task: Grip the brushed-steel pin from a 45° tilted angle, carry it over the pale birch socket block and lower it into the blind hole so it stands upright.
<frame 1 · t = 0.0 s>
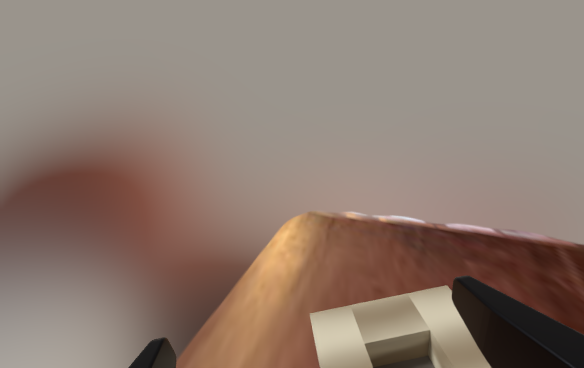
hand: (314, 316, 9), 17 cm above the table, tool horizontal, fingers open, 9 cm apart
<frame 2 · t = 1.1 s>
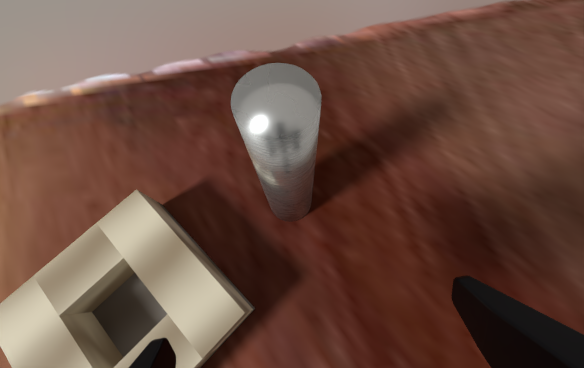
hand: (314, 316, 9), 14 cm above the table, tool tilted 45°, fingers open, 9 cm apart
socket block: (145, 310, 22), on the table
steel pin: (290, 201, 24), on the table
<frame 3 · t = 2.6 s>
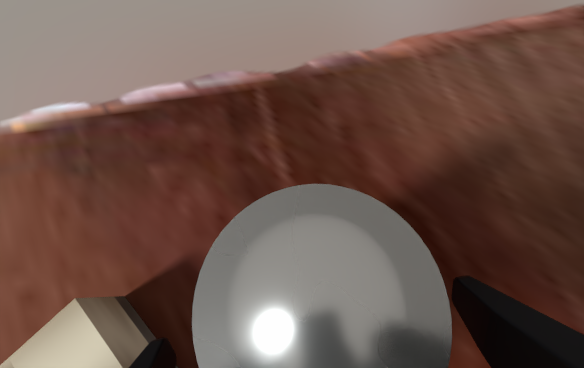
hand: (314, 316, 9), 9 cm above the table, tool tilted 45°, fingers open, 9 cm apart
steel pin: (306, 292, 17), on the table
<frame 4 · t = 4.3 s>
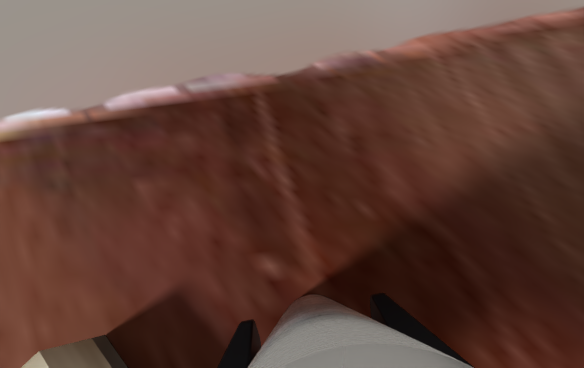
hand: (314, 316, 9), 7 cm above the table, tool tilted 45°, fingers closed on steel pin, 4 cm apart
steel pin: (314, 330, 15), on the table, touching gripper
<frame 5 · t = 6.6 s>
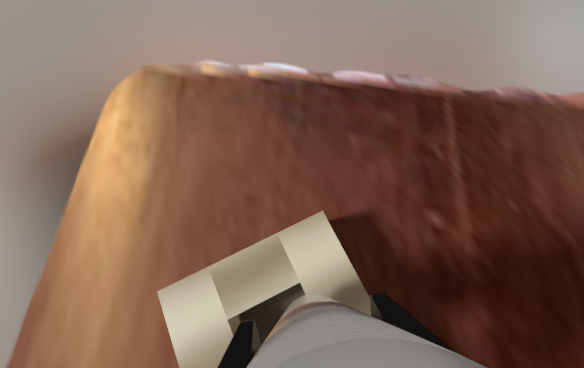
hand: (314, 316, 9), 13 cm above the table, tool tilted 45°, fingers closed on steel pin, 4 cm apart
socket block: (285, 330, 21), on the table
steel pin: (314, 330, 15), point 6 cm above the table, touching gripper
when the fingers open (8 cm above the table, at t = 8.7 s): steel pin stays where it is, resting on socket block.
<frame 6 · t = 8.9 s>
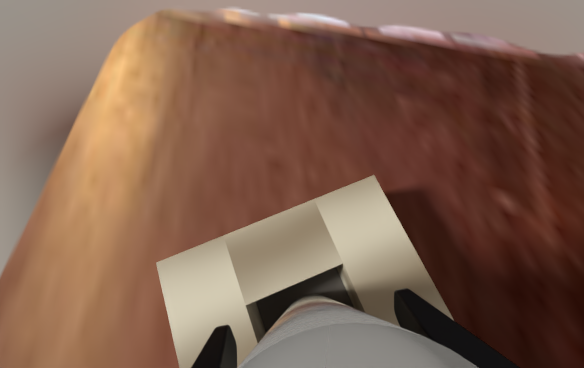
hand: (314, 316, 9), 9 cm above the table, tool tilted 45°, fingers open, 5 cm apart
socket block: (313, 326, 16), on the table
steel pin: (314, 329, 15), point 1 cm above the table, touching socket block
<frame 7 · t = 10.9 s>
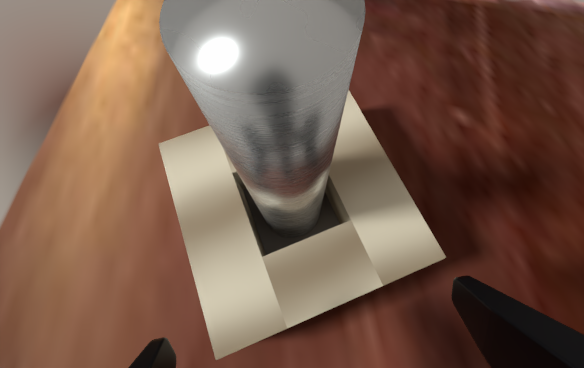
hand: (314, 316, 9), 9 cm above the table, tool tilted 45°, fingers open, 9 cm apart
socket block: (291, 213, 19), on the table
steel pin: (291, 209, 18), point 1 cm above the table, touching socket block
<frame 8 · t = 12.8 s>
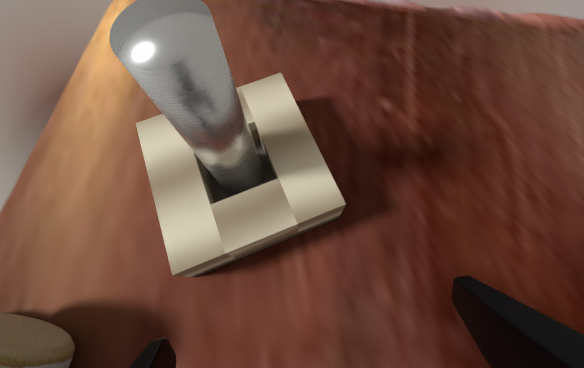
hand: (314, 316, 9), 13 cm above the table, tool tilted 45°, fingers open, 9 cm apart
socket block: (244, 180, 24), on the table
steel pin: (242, 176, 23), point 1 cm above the table, touching socket block
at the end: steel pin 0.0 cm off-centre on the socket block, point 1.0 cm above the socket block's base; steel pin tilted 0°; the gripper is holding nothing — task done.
